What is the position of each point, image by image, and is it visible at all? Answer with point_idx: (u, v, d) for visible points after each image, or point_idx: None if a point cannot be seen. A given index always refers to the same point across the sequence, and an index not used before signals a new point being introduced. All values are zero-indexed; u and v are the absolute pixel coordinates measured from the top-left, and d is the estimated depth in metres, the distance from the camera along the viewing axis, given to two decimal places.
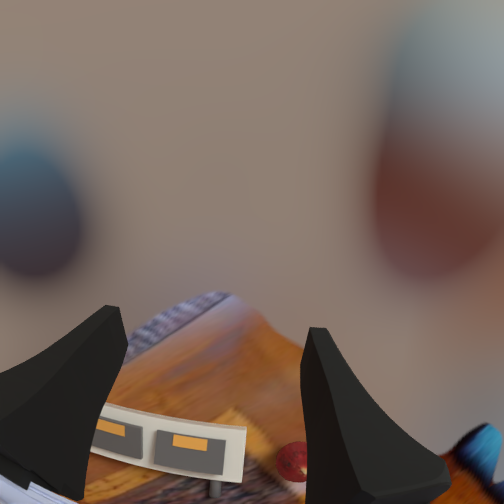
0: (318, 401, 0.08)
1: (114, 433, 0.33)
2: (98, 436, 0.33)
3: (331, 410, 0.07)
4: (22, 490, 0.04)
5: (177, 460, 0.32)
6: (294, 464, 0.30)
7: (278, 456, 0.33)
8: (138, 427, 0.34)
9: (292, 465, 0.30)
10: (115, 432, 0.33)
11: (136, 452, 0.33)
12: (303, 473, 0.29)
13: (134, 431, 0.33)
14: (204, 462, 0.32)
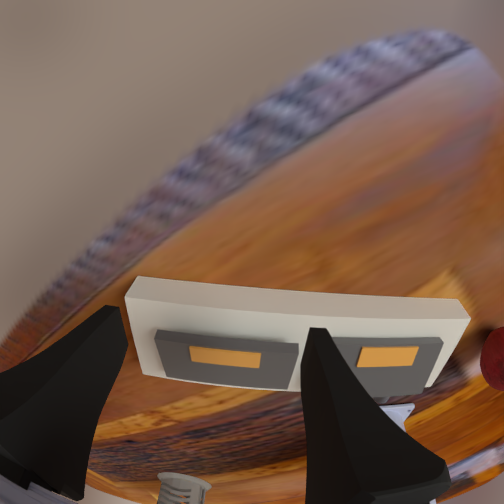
0: (318, 401, 0.08)
1: (234, 363, 0.19)
2: (198, 369, 0.20)
3: (331, 410, 0.07)
4: (22, 490, 0.04)
5: None
6: None
7: (495, 356, 0.19)
8: (292, 350, 0.18)
9: None
10: (237, 363, 0.19)
11: (279, 382, 0.21)
12: None
13: (283, 358, 0.19)
14: (402, 381, 0.20)
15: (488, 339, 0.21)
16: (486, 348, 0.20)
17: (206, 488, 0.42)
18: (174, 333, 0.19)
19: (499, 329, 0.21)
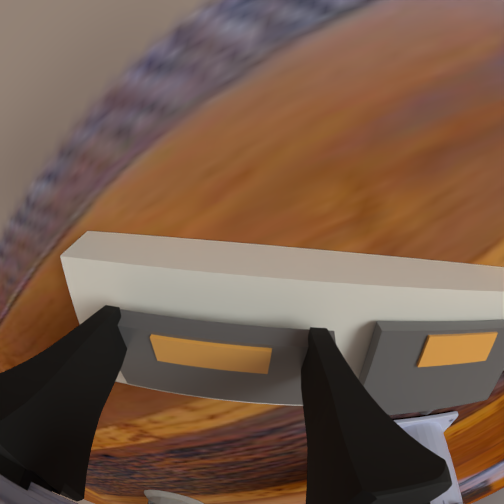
0: (319, 401, 0.08)
1: (227, 366, 0.12)
2: (169, 374, 0.13)
3: (332, 410, 0.07)
4: (22, 490, 0.04)
5: (416, 396, 0.12)
6: None
7: None
8: None
9: None
10: (231, 365, 0.12)
11: (298, 395, 0.13)
12: None
13: None
14: (470, 384, 0.12)
15: None
16: None
17: None
18: (128, 313, 0.11)
19: None
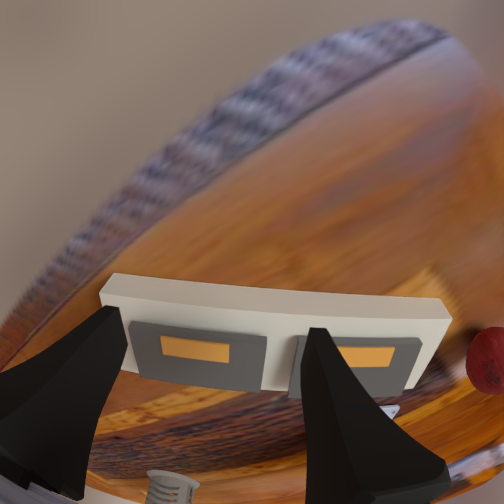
0: (318, 401, 0.08)
1: (204, 357, 0.19)
2: (169, 365, 0.20)
3: (331, 410, 0.07)
4: (22, 490, 0.04)
5: None
6: None
7: (480, 358, 0.19)
8: (260, 341, 0.19)
9: (501, 382, 0.17)
10: (207, 357, 0.19)
11: (251, 383, 0.20)
12: None
13: (251, 351, 0.19)
14: (379, 382, 0.20)
15: (474, 340, 0.21)
16: (471, 349, 0.20)
17: (195, 486, 0.42)
18: (147, 324, 0.19)
19: (485, 330, 0.21)
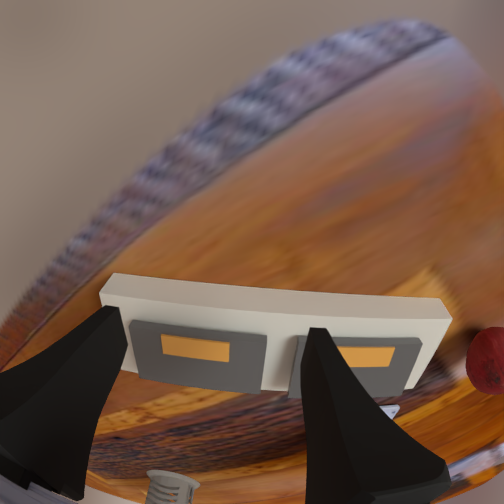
0: (318, 401, 0.08)
1: (204, 357, 0.19)
2: (169, 366, 0.20)
3: (331, 410, 0.07)
4: (22, 490, 0.04)
5: None
6: None
7: (480, 358, 0.19)
8: (260, 340, 0.19)
9: (501, 382, 0.17)
10: (207, 356, 0.19)
11: (251, 384, 0.20)
12: None
13: (251, 349, 0.19)
14: (379, 382, 0.20)
15: (474, 340, 0.21)
16: (471, 349, 0.20)
17: (195, 486, 0.42)
18: (148, 323, 0.19)
19: (485, 330, 0.21)
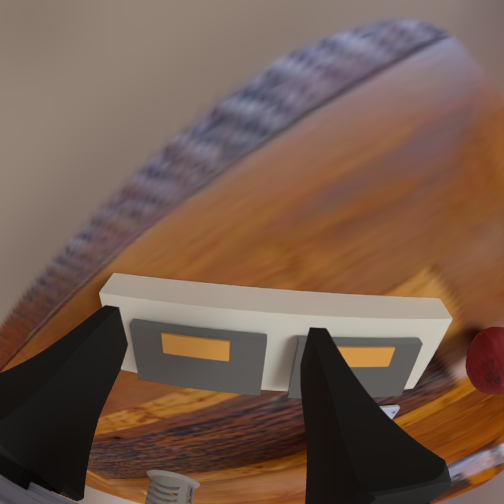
0: (318, 401, 0.08)
1: (204, 356, 0.20)
2: (169, 366, 0.20)
3: (331, 410, 0.07)
4: (22, 490, 0.04)
5: None
6: None
7: (480, 358, 0.19)
8: (260, 338, 0.19)
9: (501, 382, 0.17)
10: (207, 355, 0.20)
11: (251, 384, 0.20)
12: None
13: (251, 348, 0.19)
14: (379, 382, 0.20)
15: (474, 340, 0.21)
16: (471, 349, 0.20)
17: (195, 486, 0.42)
18: (148, 322, 0.20)
19: (485, 330, 0.21)
